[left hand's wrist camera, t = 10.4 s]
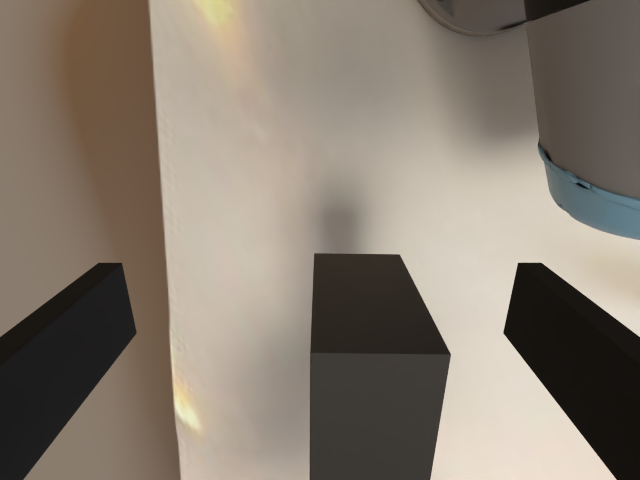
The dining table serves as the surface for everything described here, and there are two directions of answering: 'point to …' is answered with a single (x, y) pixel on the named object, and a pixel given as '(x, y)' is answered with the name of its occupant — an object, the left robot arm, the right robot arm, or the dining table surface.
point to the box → (373, 371)
